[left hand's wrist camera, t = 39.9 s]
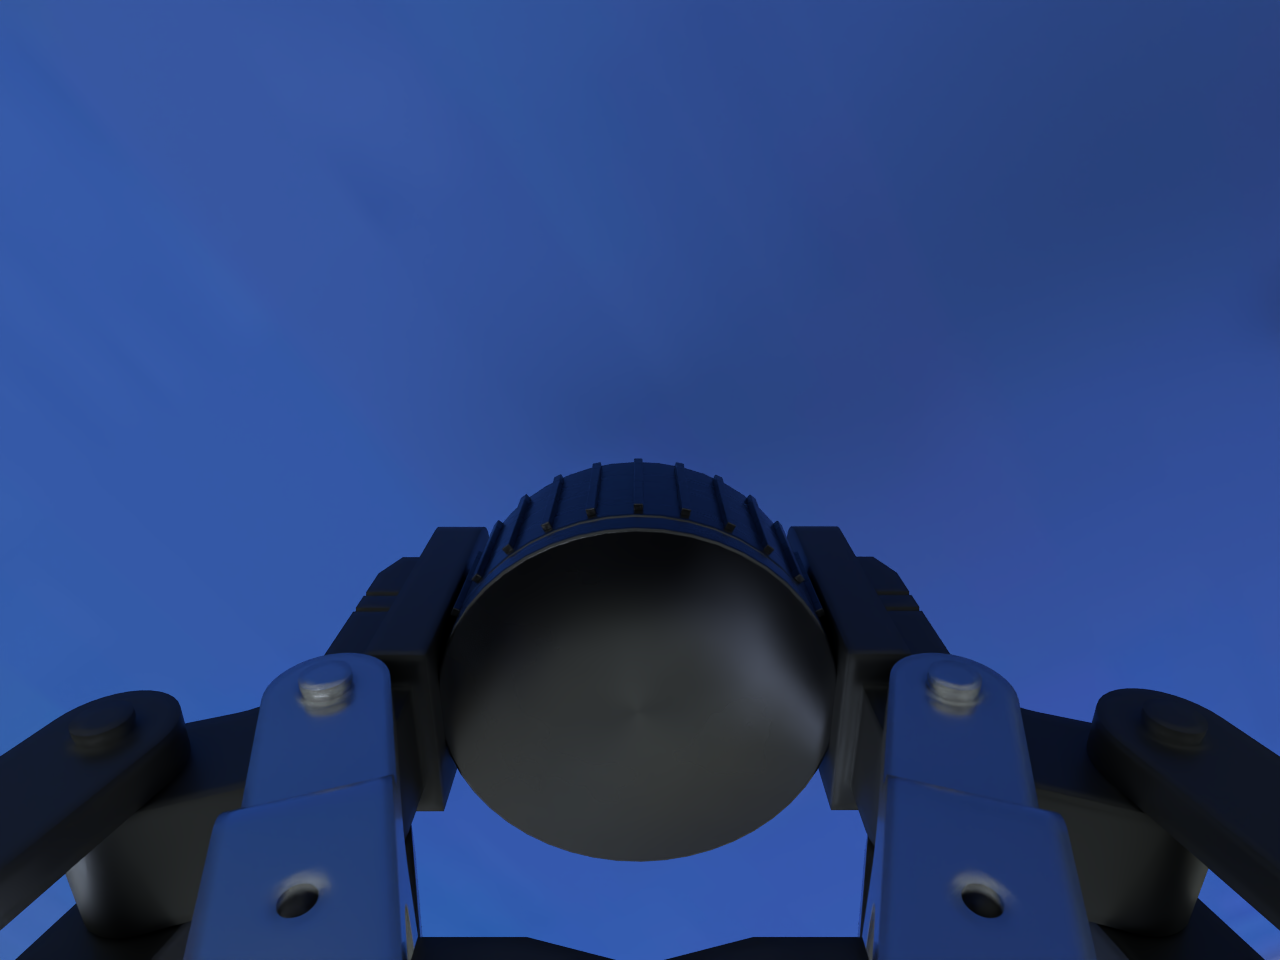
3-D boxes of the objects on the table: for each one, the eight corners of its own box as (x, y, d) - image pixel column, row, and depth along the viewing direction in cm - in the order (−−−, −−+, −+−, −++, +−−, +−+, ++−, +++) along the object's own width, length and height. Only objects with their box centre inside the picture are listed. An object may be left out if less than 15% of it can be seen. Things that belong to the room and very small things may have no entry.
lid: (839, 477, 10) (889, 547, 8) (774, 765, 12) (802, 882, 10) (474, 436, 10) (432, 499, 8) (462, 736, 12) (426, 850, 10)
